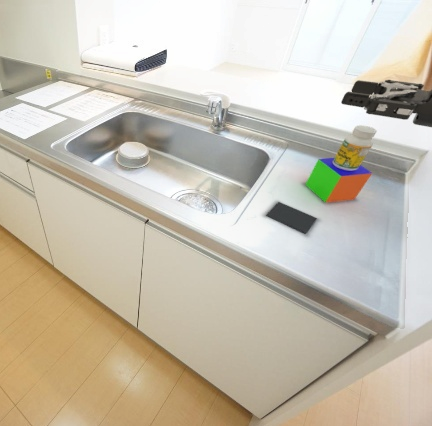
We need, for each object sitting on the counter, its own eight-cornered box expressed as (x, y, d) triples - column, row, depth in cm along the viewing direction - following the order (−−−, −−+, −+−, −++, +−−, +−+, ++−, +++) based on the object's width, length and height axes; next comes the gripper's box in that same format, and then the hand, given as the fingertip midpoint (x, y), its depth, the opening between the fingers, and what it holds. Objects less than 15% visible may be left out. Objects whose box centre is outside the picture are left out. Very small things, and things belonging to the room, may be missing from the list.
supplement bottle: (362, 169, 68) (387, 132, 62) (344, 172, 67) (366, 135, 61) (344, 158, 72) (365, 122, 65) (326, 161, 71) (346, 125, 65)
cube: (332, 181, 78) (347, 156, 73) (354, 199, 72) (372, 173, 67) (305, 184, 77) (318, 159, 72) (325, 202, 71) (341, 176, 66)
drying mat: (316, 219, 67) (317, 218, 66) (305, 234, 63) (306, 233, 63) (278, 202, 72) (278, 201, 71) (265, 215, 68) (266, 214, 68)
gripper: (478, 73, 49) (365, 63, 58) (479, 97, 42) (349, 80, 50) (447, 116, 54) (347, 100, 63) (443, 143, 46) (330, 121, 55)
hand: (348, 91), depth 57 cm, fingers open, 8 cm apart
